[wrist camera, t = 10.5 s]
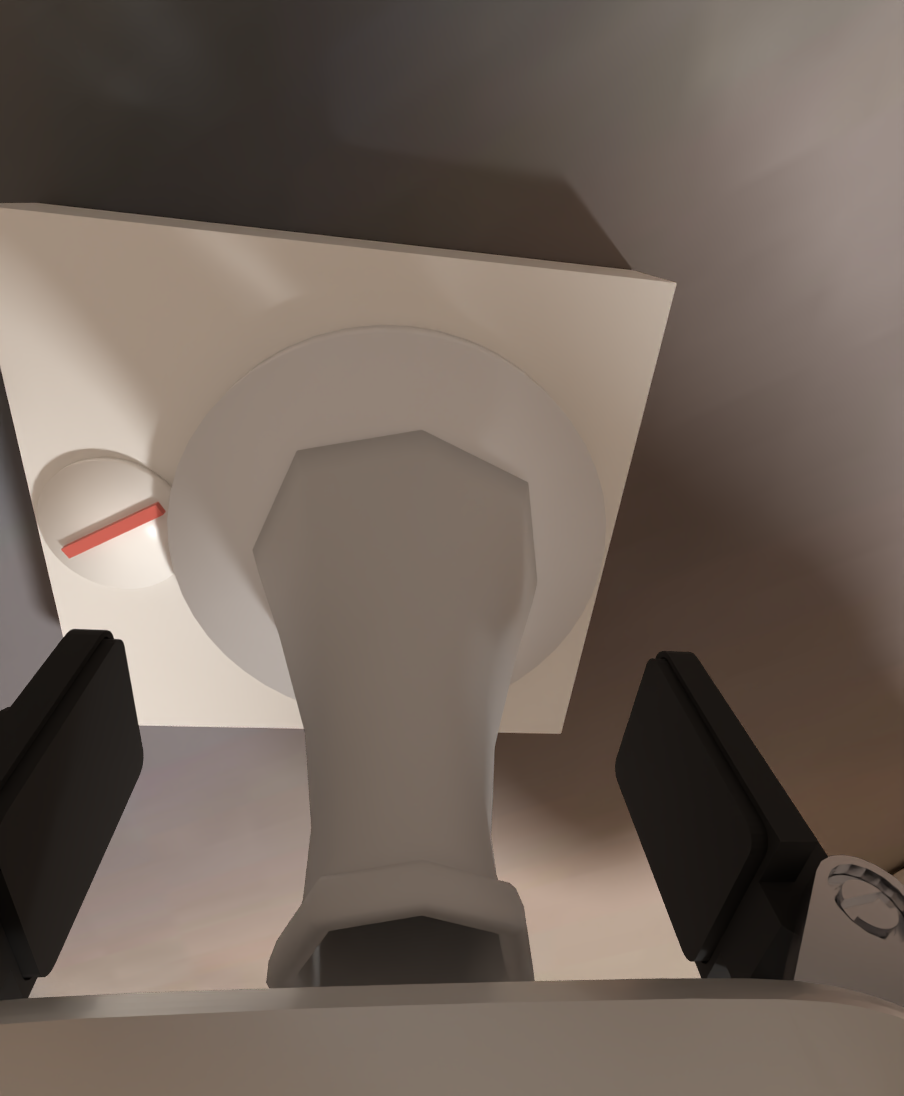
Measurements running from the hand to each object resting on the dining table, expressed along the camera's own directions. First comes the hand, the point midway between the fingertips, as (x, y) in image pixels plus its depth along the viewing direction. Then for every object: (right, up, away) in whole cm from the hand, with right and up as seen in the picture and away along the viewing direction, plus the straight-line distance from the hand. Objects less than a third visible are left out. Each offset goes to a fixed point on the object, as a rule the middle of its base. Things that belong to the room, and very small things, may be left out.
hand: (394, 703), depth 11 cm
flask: (0, +3, +5) cm, 6 cm away
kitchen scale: (-2, +5, +8) cm, 9 cm away
